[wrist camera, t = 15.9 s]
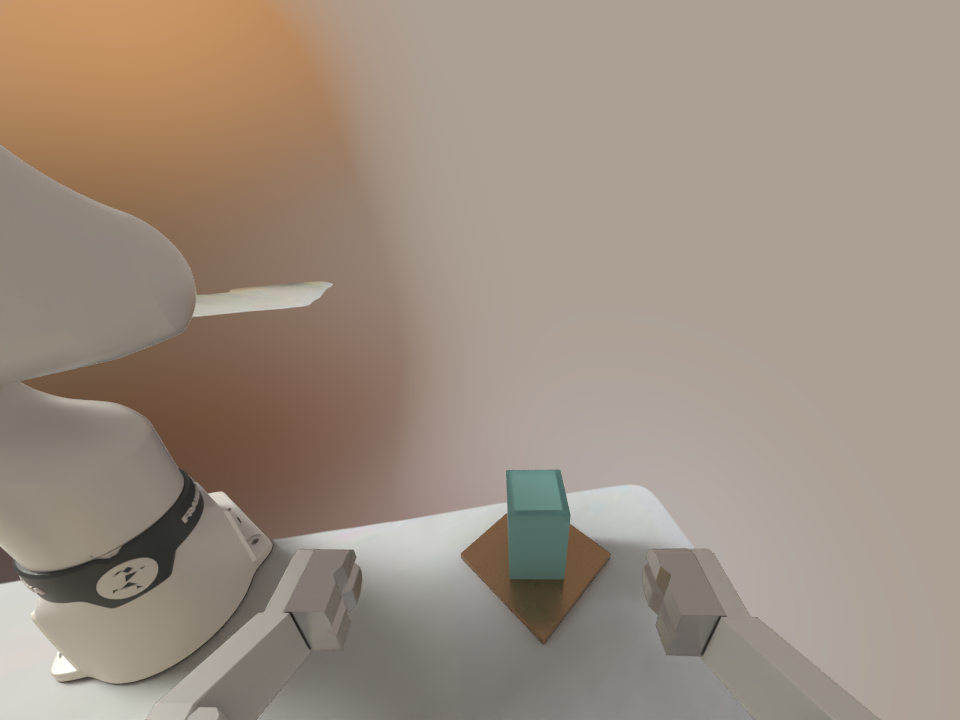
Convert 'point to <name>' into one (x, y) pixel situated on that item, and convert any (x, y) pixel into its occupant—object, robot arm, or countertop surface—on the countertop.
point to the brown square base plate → (536, 598)
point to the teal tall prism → (537, 524)
